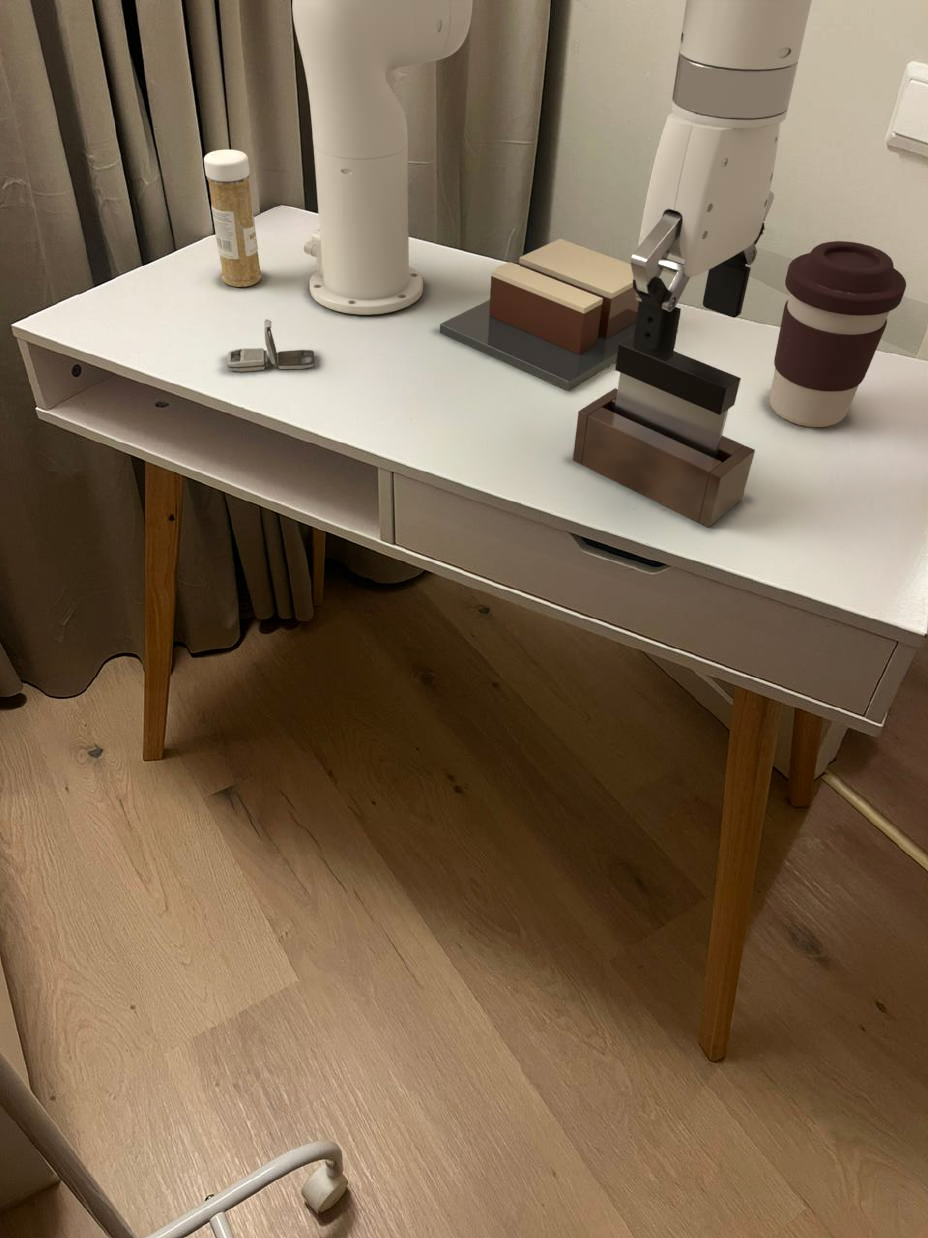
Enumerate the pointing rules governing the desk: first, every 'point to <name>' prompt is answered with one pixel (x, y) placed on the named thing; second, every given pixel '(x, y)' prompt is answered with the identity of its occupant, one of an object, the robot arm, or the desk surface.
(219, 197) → the sprinkles bottle
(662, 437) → the block
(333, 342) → the desk surface
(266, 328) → the strap clip
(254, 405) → the desk surface
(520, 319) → the cake slice
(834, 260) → the coffee cup
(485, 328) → the cake board
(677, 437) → the bench scraper
